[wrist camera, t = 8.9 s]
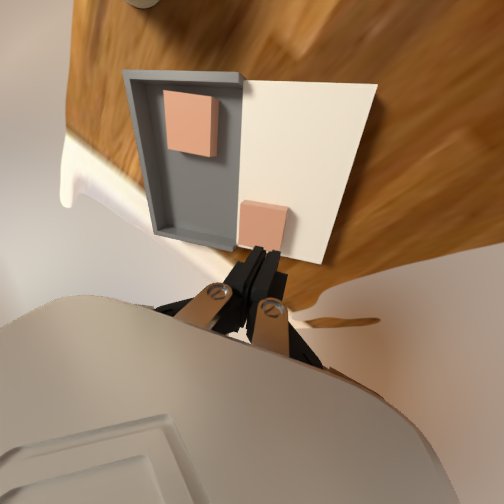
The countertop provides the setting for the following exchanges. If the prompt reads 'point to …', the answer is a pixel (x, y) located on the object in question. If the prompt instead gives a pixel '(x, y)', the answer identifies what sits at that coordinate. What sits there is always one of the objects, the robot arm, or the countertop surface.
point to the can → (142, 3)
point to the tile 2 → (262, 225)
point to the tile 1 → (191, 123)
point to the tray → (188, 157)
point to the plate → (301, 154)
